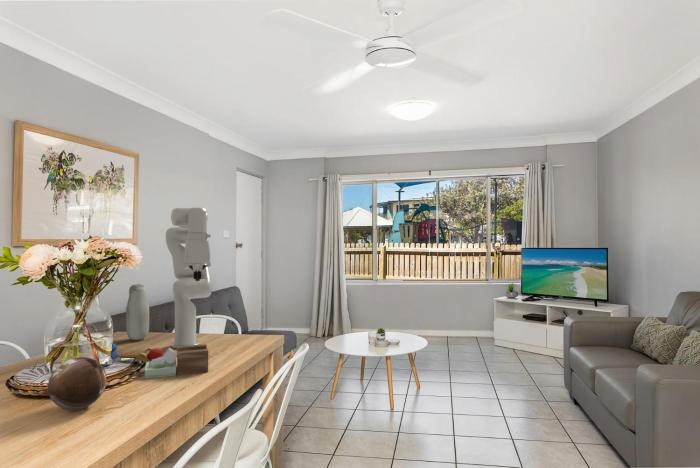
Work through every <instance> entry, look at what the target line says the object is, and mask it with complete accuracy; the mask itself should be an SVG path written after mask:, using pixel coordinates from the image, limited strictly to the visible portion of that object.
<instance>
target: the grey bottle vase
mask: <svg viewBox="0 0 700 468" xmlns="http://www.w3.org/2000/svg"><path fill="white" fill-rule="evenodd" d="M146 291H147V290H146V287H145V285H144V284H141V283H135V284H132V285H130V286H129V289H128V299H127V303H126V307H125V308H126V309H125V317H126V318H125V320H126V323H125V324H126V325H125V326H126V327H125V328H126V335H127V337H128V339H130V340H131V341H141V340H144V339H145V338H146V337H147V336H148V335H149V333H150V332H149V331H150V305H149V302H148V299H147V293H146Z"/></svg>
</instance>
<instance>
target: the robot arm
mask: <svg viewBox="0 0 700 468" xmlns="http://www.w3.org/2000/svg"><path fill="white" fill-rule="evenodd" d="M208 215H209V214H208V213H207V209H206V208H204V207H190V208H189V207H175V208H173V209H172V211H171V213H170V220H171V224H172V225H173V227H170V228H168V229H167V230H166V231H165V244H166V247H167V250H168V251H169V252H170V255H171V258H172V266H173V267H172V268H173V274H174V277H175V278H176V279H177V280H175V281H174V282H173V284H172V294H173V301H174V342H172V343H171V344H170V346H171V347H170V348H171V349H177V346H187V345H198V344H201V343H200V341H198V340H197V308H196V307H197V306H196V304H194V303H193V301H191V300H192V299H203V298H204V299H206V298H208V297H210V296H211V294H212V291H213V290H212V289H213V288H212V281H211V276H210V275H211V274H210V270H209V267H211V266H212V264H211V248H210V242H209V240H208V239H209V238H211V234H209V233H208V218H209V217H208ZM183 244H184V245H183Z"/></svg>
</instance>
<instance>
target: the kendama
mask: <svg viewBox="0 0 700 468" xmlns="http://www.w3.org/2000/svg"><path fill="white" fill-rule="evenodd" d="M164 353H165V352H164V351H163V350H162V349H161V348H159V347H154V348H152V347H148V348H146V349H145V351H144V352H139V353H129V354H126V353H125V354H121V355H120V359H121V358H135V359H136V360H137V361H143V362H144V363H145V364H144V365H146V363H147V362H150V361H152V359H156V358H159V357H162V356H163V355H164ZM137 361H136V362H137Z"/></svg>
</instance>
